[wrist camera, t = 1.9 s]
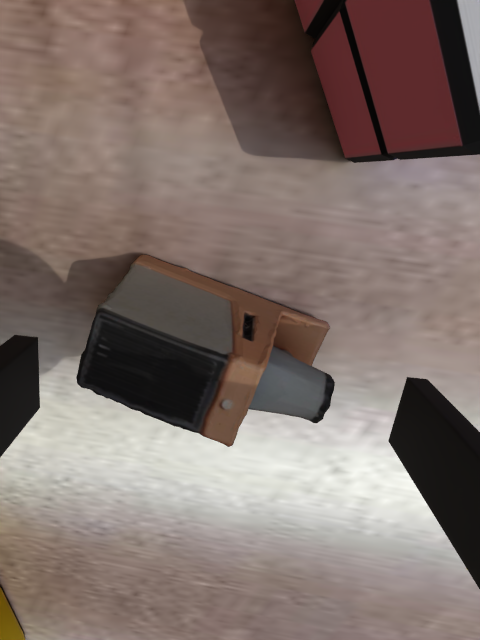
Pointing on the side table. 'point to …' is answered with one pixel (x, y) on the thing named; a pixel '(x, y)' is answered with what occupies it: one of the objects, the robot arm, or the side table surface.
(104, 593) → the side table surface
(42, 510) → the side table surface
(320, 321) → the electronic device
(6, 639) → the element tile
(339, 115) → the puzzle cube
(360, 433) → the side table surface
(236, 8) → the side table surface
